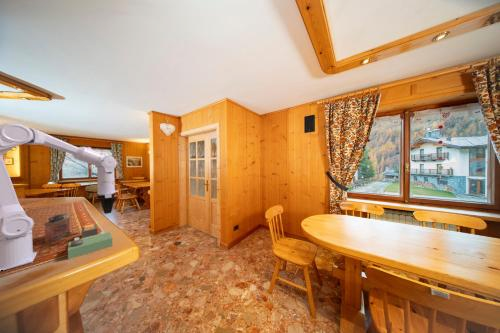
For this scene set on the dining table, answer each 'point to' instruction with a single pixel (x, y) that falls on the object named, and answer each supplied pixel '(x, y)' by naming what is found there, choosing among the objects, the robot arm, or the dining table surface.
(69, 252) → the deck
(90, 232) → the grey box orange face
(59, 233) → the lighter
